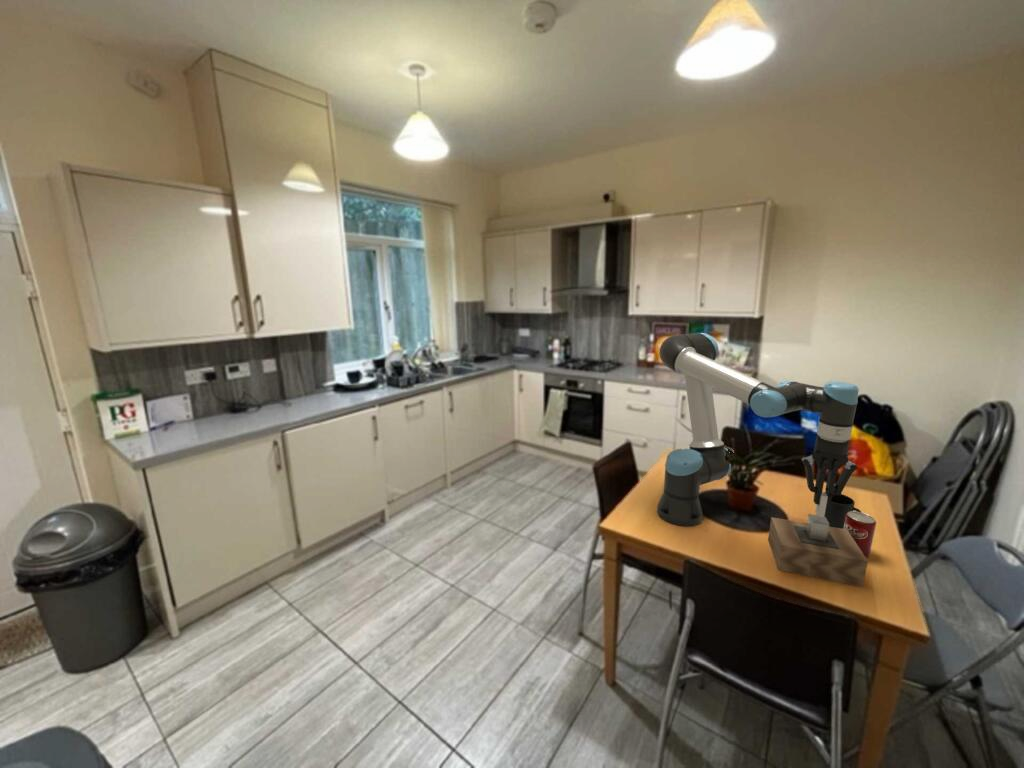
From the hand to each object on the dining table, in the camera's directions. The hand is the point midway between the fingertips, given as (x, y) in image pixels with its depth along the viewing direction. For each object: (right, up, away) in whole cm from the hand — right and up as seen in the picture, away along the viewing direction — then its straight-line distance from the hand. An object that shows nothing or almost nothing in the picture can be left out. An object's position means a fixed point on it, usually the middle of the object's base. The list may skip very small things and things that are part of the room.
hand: (819, 514), depth 123 cm
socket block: (0, -15, +4) cm, 16 cm away
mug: (+23, -10, +23) cm, 34 cm away
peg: (0, -9, +2) cm, 9 cm away
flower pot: (+2, -1, +65) cm, 65 cm away
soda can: (+16, -14, +8) cm, 23 cm away
